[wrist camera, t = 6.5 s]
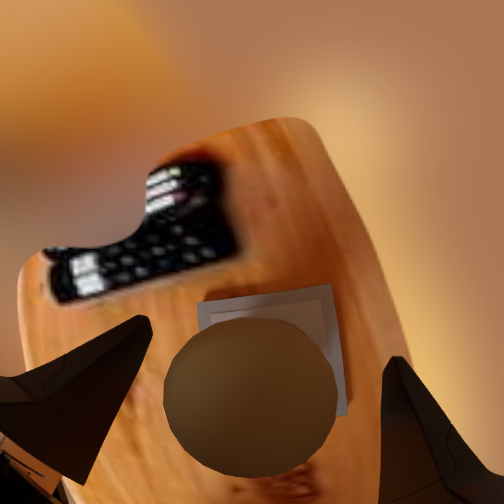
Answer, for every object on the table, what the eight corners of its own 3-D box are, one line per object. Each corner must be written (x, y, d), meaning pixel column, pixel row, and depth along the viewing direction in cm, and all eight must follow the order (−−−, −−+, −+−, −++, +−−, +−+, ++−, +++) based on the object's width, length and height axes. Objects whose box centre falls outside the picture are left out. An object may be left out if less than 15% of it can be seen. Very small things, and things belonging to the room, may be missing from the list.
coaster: (344, 410, 15) (348, 414, 14) (216, 424, 16) (212, 429, 15) (328, 285, 18) (331, 283, 17) (201, 304, 19) (196, 302, 18)
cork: (326, 328, 16) (390, 319, 6) (304, 416, 15) (323, 519, 4) (234, 309, 17) (157, 272, 7) (213, 395, 16) (120, 461, 5)
